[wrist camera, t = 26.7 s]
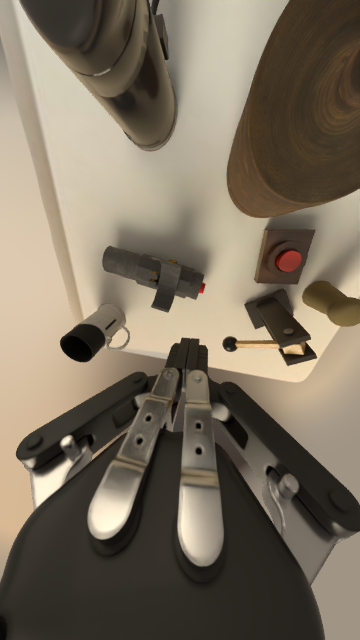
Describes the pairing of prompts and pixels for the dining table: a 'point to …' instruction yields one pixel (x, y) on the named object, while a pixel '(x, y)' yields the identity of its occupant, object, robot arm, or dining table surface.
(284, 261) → the button
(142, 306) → the dining table surface
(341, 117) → the wooden container
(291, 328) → the switch bracket
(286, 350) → the lever
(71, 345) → the glass holder
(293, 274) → the lamp base
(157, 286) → the laser sight
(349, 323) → the tan wooden game pawn
